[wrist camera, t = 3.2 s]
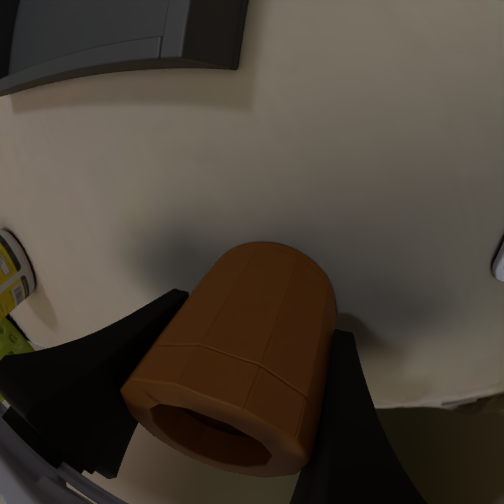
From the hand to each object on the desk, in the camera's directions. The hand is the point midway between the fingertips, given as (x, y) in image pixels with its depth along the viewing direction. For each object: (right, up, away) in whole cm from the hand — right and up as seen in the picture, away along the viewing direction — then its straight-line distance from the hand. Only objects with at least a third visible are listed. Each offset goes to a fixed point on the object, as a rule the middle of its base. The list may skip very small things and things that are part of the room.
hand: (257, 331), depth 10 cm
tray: (-7, +15, -4) cm, 17 cm away
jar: (+1, +1, +2) cm, 2 cm away
